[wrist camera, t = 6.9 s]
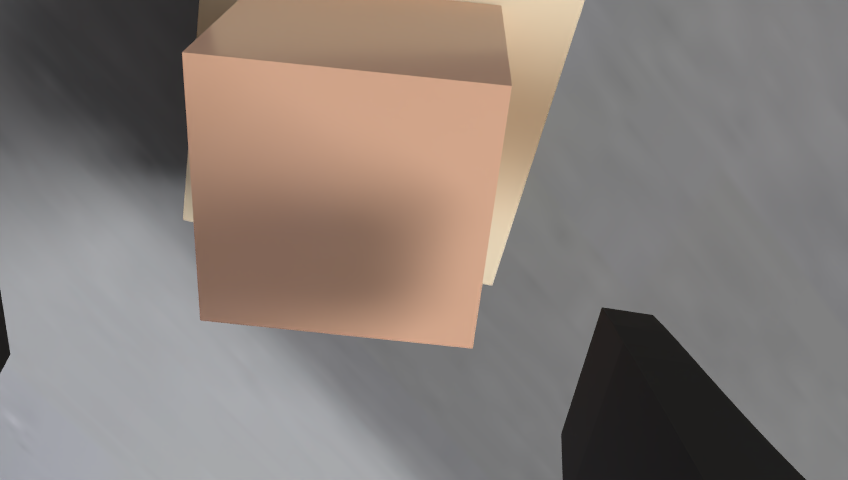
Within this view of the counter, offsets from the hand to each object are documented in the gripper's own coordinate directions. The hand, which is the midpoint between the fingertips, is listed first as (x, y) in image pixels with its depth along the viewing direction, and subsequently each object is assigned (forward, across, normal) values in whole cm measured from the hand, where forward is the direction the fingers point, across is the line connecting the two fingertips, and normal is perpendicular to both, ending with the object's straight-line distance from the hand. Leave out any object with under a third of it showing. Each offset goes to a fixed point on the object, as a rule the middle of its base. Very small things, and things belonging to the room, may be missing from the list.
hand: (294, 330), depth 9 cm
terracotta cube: (+7, 0, 0) cm, 7 cm away
